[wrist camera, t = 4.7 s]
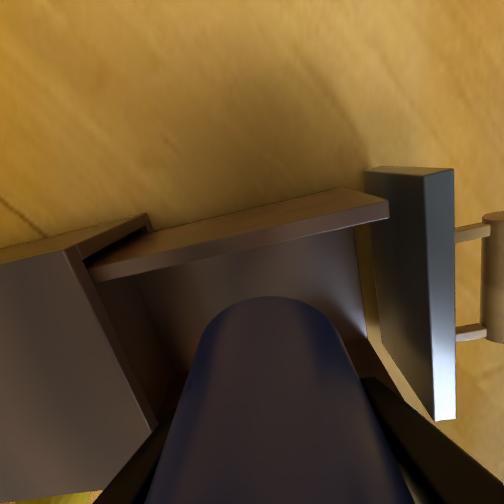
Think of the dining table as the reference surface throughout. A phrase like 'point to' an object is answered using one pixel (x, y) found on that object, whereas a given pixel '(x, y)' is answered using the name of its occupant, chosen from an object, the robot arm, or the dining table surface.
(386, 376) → the drawer
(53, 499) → the lemon
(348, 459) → the tea tin
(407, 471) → the robot arm
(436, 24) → the dining table surface
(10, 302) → the cabinet
